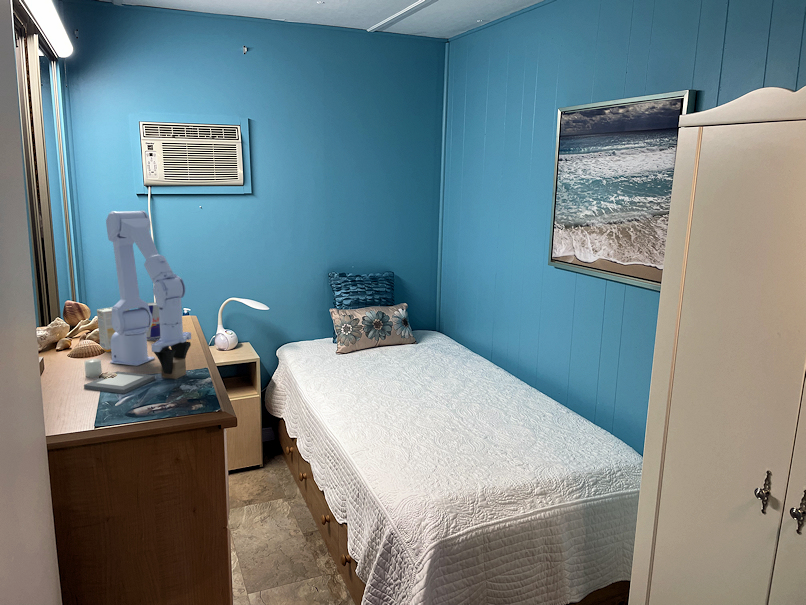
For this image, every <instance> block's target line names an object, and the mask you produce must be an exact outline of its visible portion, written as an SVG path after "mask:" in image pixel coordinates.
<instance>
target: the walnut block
mask: <svg viewBox="0 0 806 605" xmlns="http://www.w3.org/2000/svg"><path fill="white" fill-rule="evenodd" d="M160 369H161V370H160V371H161V378H162V379H171V380H177V379H179V378H181V377H183V376H185V375H187V364H186V358H176V357H174V358H173V370H172V374H164V372H163V369H162V366H161V365H160Z"/></svg>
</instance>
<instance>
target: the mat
mask: <svg viewBox="0 0 806 605" xmlns="http://www.w3.org/2000/svg"><path fill="white" fill-rule="evenodd" d="M113 373H116V374H117V376H116V377H114V378H107V379H103V378H102V377H100V378H98V379H95V380H93V381H89V382H88V383H85V384H83V389H84V390H85V389H86V390H93V391H101V392H108V393H109V392H110V393H116V394H127V393H128V392H130V391H133V390H135V389H137V388H139V387H141V386H144V385H146V384H148V383H150V382H153V381H154V380H156V375H154V374H144V373H143V374H142V373H137V372H128V371H127V372H126V371H114V372H113Z"/></svg>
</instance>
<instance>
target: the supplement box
mask: <svg viewBox="0 0 806 605" xmlns="http://www.w3.org/2000/svg"><path fill="white" fill-rule="evenodd" d="M112 307H113V306H111V307H103V308H98V309H96V315H97V316H96V317H97V329H98V335H99V336H98V338H99V347H100V346H101V347H102V348H103V349H104V352H106V353H109V352H111V338H112V335H113V334H114V333H115V332H116V331H115V330H114V329H113V327H112V323H111V318H112ZM127 310H130V309H127ZM127 310H125V311H127Z"/></svg>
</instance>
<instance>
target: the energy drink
mask: <svg viewBox="0 0 806 605" xmlns="http://www.w3.org/2000/svg"><path fill="white" fill-rule="evenodd" d="M147 303H148V305H149V309H150V312H151V314H152V324H151V326H150V328H148V329H149V331H146V335H147V341H149V342H150V341H153V342H154V341H158V340H159V339H160V338H161V336H160V319H159V307H158V306H157V304H156V302H147Z"/></svg>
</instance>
